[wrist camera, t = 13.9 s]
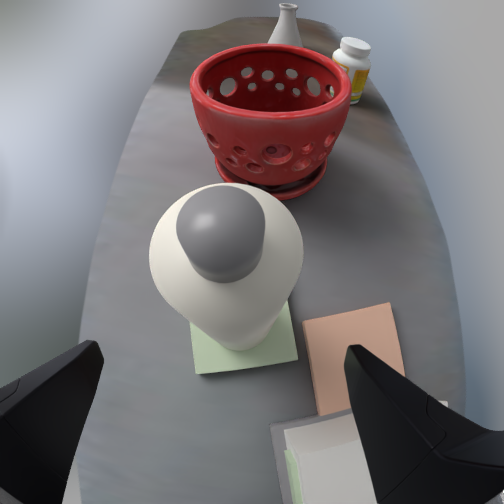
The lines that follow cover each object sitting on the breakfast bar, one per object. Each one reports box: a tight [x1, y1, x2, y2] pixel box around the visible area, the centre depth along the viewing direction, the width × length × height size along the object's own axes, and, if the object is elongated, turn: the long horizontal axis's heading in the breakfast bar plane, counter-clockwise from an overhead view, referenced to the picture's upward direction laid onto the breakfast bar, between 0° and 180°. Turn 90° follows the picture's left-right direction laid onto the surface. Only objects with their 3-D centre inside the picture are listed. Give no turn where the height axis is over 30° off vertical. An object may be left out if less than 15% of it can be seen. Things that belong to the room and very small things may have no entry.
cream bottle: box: [149, 183, 304, 351], centre depth 15 cm, size 5×5×16 cm
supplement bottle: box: [330, 37, 371, 104], centre depth 31 cm, size 5×5×10 cm
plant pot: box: [190, 44, 352, 201], centre depth 24 cm, size 13×13×12 cm
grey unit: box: [269, 401, 448, 504], centre depth 14 cm, size 8×12×8 cm, turn 99°
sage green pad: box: [190, 301, 298, 374], centre depth 22 cm, size 8×8×1 cm
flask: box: [267, 3, 303, 48], centre depth 37 cm, size 7×7×10 cm
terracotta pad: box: [302, 302, 405, 416], centre depth 21 cm, size 8×8×1 cm
